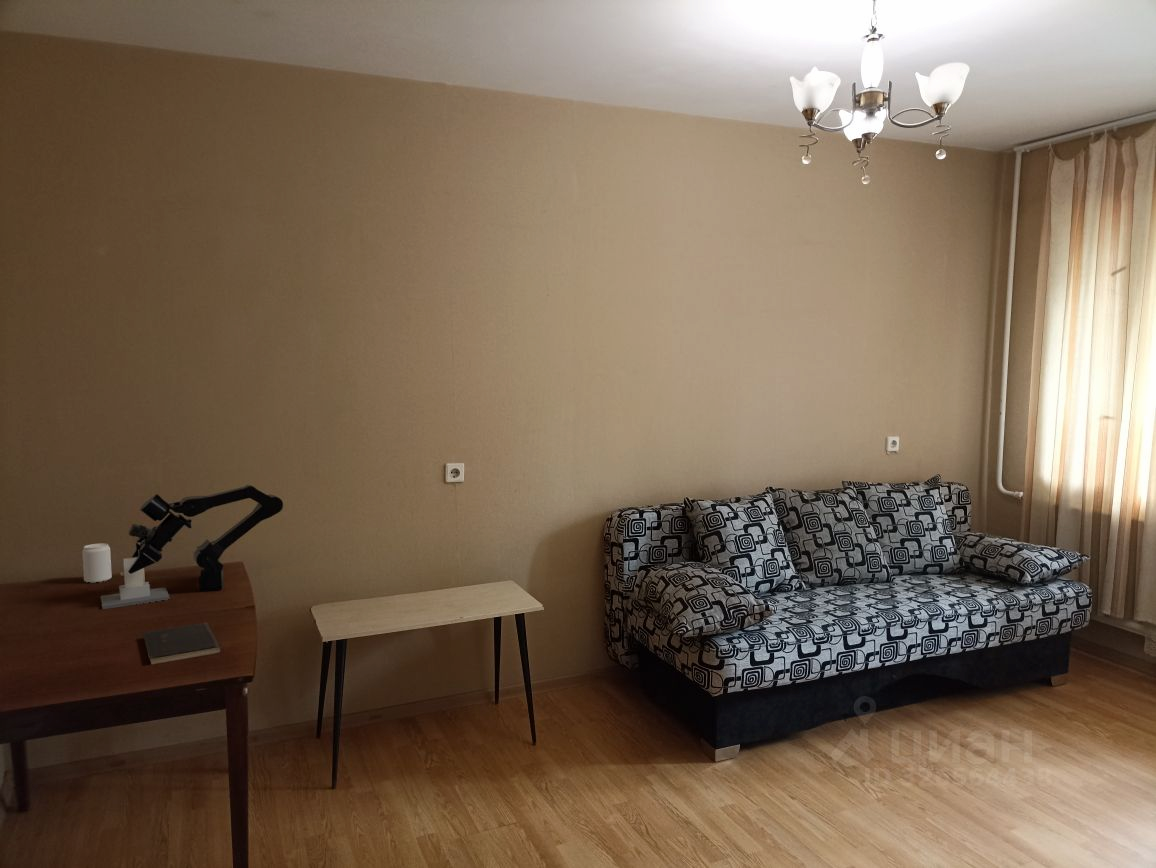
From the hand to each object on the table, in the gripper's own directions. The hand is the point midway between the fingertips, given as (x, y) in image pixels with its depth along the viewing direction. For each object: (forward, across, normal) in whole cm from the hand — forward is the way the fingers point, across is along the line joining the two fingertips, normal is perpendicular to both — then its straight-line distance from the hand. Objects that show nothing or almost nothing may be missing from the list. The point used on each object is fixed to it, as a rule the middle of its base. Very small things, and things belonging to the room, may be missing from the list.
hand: (128, 569), depth 251 cm
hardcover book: (+1, +55, +13) cm, 57 cm away
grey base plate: (+6, 0, +8) cm, 10 cm away
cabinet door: (+5, 0, +7) cm, 9 cm away
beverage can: (+12, -34, +2) cm, 36 cm away
